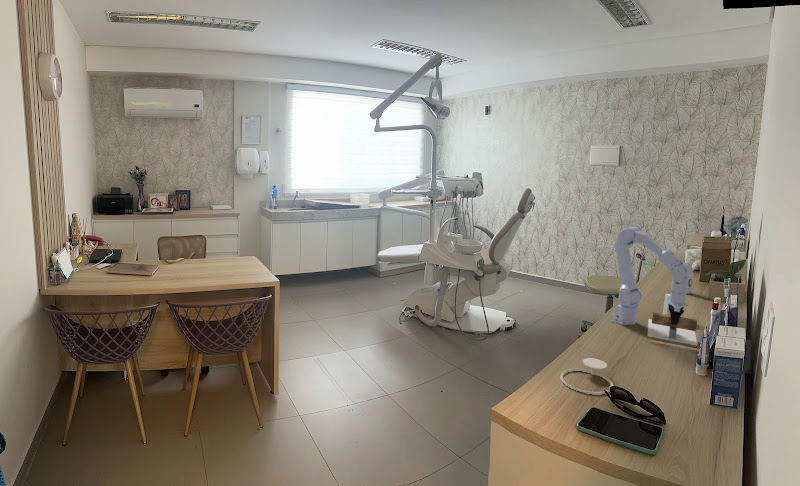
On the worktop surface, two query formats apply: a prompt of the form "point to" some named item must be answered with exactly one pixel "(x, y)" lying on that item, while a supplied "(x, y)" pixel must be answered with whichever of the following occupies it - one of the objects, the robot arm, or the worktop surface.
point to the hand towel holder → (592, 364)
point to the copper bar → (666, 321)
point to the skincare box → (666, 305)
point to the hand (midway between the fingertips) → (673, 323)
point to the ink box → (690, 283)
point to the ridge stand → (671, 334)
